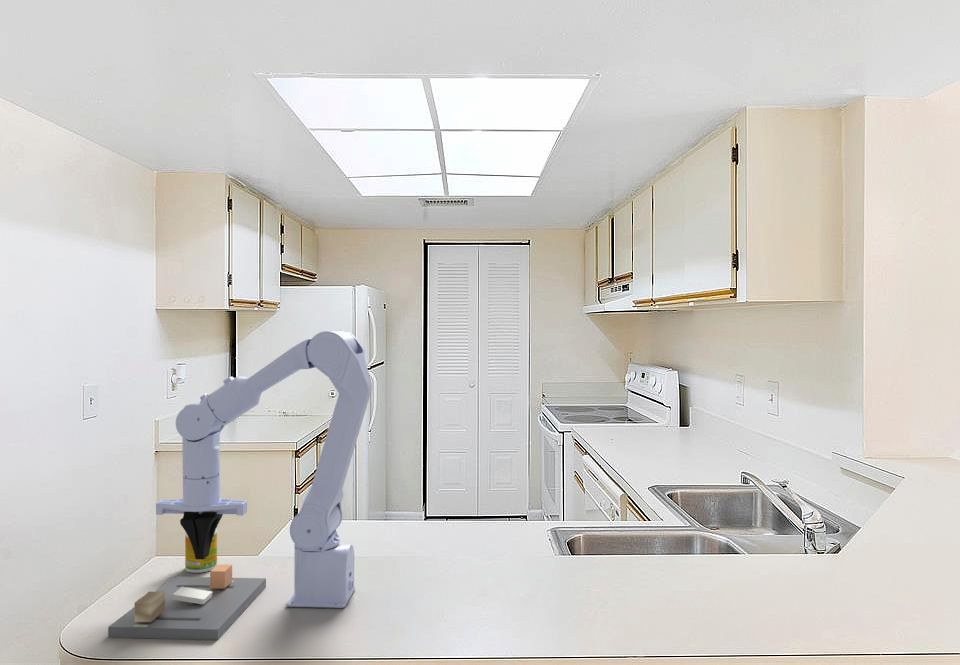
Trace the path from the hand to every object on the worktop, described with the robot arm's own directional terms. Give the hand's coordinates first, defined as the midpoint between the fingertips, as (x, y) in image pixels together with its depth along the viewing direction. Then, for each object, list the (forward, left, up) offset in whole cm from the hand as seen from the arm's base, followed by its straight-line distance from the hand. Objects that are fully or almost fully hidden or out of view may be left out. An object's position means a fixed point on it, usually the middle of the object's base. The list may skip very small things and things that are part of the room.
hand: (202, 557), depth 110 cm
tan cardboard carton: (+2, +12, -5) cm, 13 cm away
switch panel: (-1, +6, -6) cm, 9 cm away
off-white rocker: (-1, +6, -4) cm, 7 cm away
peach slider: (-3, 0, -5) cm, 6 cm away
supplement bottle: (+6, -12, -7) cm, 15 cm away
